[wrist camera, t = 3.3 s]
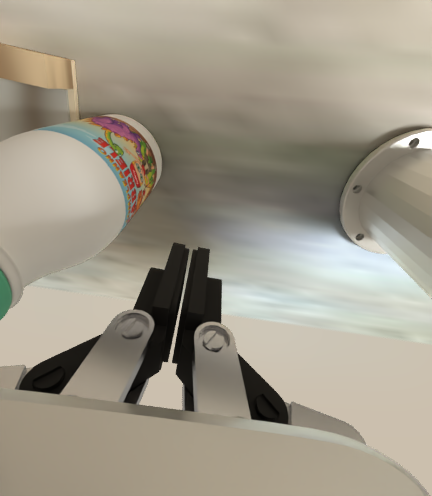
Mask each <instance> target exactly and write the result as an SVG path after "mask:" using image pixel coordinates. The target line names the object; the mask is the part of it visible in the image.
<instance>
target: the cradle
mask: <svg viewBox="0 0 432 496" xmlns="http://www.w3.org/2000/svg"><path fill="white" fill-rule="evenodd" d="M76 120H80V118H79V106H78V93H77V81H76V69H75V60H71V59H66V58H62V57H58V56H53V55H49V54H45V53H41V52H36V51H32V50H28V49H23V48H19V47H15V46H10V45H6V44H2V43H0V142H1V141H3V140H6V139H8V138H10V137H12V136H15V135H18V134H21V133H25V132H28V131H32V130H35V129H39V128H43V127H48V126H52V125H57V124H61V123H66V122H71V121H76Z"/></svg>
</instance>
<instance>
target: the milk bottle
mask: <svg viewBox="0 0 432 496" xmlns="http://www.w3.org/2000/svg"><path fill="white" fill-rule="evenodd" d="M161 172H162V157H161V153H160V149H159V147H158V145H157V142H156V141H155V139H154V137H153V136H152V135H151V133H150V132H149V131H148V130H147V129H146V128H145V127H144V126H143V125H141V124H140V123H139V122H137V121H135V120H134V119H132V118H129V117H127V116H123V115H118V114H109V115H101V116H96V117H91V118H86V119H81V120H76V121H71V122H66V123H61V124H57V125H52V126H48V127H43V128H39V129H35V130H32V131H28V132H25V133H21V134H18V135H15V136H12V137H10V138H8V139H6V140H3V141H1V142H0V320H1V319H2V318H3V317H4V316H5V314H6V313H7V311H8V310H9V309H10V308H12V307H13V306H15V305H16V304H17V303H18V302H19V301H20V299H21V297H22V294H23V290H24V287H26V286H27V285H29V284H30V283H32V282H34V281H36V280H38V279H40V278H42V277H44V276H46V275H48V274H51V273H54V272H57V271H60V270H63V269H67V268H70V267H72V266H75V265H78V264H80V263H82V262H84V261H86V260H88V259H90V258H92V257H93V256H95V255H97V254H98V253H100V252H101V251H102V250H103V249H104V248H106V247H107V246H108V245H109V244H110V243H111V242H112V241H113V240H114V239H115V238H116V237H117V235H118V234H119V233H120V232H121V231H122V230H123V229H124V227H125V226H126V225H127V223H128V222H129V221H130V219H131V218H132V217H133V216H134V214H135V213H136V212H137V210H138V209H139V208H140V206H141V205H142V204H143V202H144V201H145V200H146V198H147V197H148V196H149V194H150V193H151V192H152V190H153V189H154V187H155V186H156V184H157V183H158V181H159V178H160V176H161Z"/></svg>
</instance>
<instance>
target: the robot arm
mask: <svg viewBox="0 0 432 496" xmlns="http://www.w3.org/2000/svg"><path fill="white" fill-rule="evenodd" d="M354 186H355V188H354ZM339 213H340V221H341V224H342V227H343V229H344V231H345V232H346V234H347V235H348V236H349V238H350V239H351V240H352V241H353V242H354V243H355V244H357V245H358V246H360V247H361V248H363V249H365V250H368V251H370V252H374V253H379V254H388V255H389V256H390V257H391V258H392V259H393V260H394V261H395V262H396V263H397V264H398V265H399V266H400V267H401V268H402V269H403V270H404V271H405V272H406V273H407V274H408V275H409V276H410V277H411V278H412V279H413V280H414V281H415V282H416V283H417V284H418V285H419V286H420V287H421V288H422V289H423V290H424V291H425V292H426V293H427V295H428V296H429V297H430V298H431V299H432V128H425V129H420V130H414V131H410V132H408V133H405V134H402V135H399V136H397V137H395V138H393V139H391V140H389V141H387V142H386V143H384V144H382V145H381V146H380V147H378V148H377V149H375V150H374V151H373V152H371V153H370V154H369V155H368V156H367V157H366V158H365V159H364V160H363V161H362V162H361V163H360V164H359V165H358V167H357V168H356V169H355V171H354V172H353V173H352V175H351V176H350V178H349V180H348V182H347V183H346V185H345V187H344V190H343V193H342V196H341V200H340V208H339ZM209 253H210V249H205V248H200V247H198V250H194V249H193V253H192V258H191V263H190V268H189V273H188V278H187V283H186V288H185V294H184V299H183V304H182V309H181V314H180V320H179V326H178V332H177V337H176V343H175V349H174V355H173V360H172V363H176V364H177V369H176V375H177V376H178V377H179V379H180V380H181V381H182V383H183V387H182V398H183V399H182V400H183V401H182V402H183V403H182V406H183V408H182V410H176V409H167V408H160V407H153V406H145V405H139V403H140V401H141V399H142V396H143V393H144V391H145V389H146V387H147V384H148V381H149V378H150V377H152V376H153V375H154V374H156V373H158V372H159V370H161V366H162V362H168V358H169V354H170V349H171V344H172V339H173V335H174V330H175V325H176V320H177V315H178V311H179V306H180V301H181V296H182V290H183V284H184V278H185V272H186V267H187V261H188V255H189V249H188V248H185V245H183V244H178V243H173V246H172V249H171V252H170V255H169V258H168V261H167V264H166V267H165V270H163V269H157V268H150V270H149V273H148V275H147V277H146V280H145V282H144V285H143V287H142V289H141V292H140V294H139V297H138V299H137V302H136V304H135V306H134V309H133V310H127V311H124V312H122V313H120V314H118V315H117V316H116V317H115V318H114V319H113V320H112V321H111V323H110V324H109V326H108V327H107V328H106V330H105V331H104V333H103V334H101V335H99V336H97V337H95V338H92V339H90V340H88V341H86V342H84V343H82V344H79V345H77V346H75V347H73V348H71V349H69V350H67V351H65V352H62V353H60V354H58V355H56V356H54V357H52V358H49V359H47V360H45V361H43V362H41V363H40V364H38V365H36V366H34V367H33V368H26V366H25V365H17V366H3V367H0V496H430V495H429V493H428V492H427V491H426V489H425V488H424V487H423V486H422V485H421V484H420V482H419V481H418V480H417V479H416V478H415V477H414V476H413V475H412V474H411V473H410V472H408V471H407V470H406V469H405V468H403V467H402V466H401V465H400V464H398V463H397V462H395V461H394V460H392V459H391V458H389V457H387V456H386V455H384V454H382V453H381V452H379V451H377V450H376V449H374V448H372V447H370V446H368V445H366V443H365V441H364V439H363V438H362V436H361V435H360V433H359V432H358V431H357V430H356V429H355V428H354V427H353V426H351V425H349V424H348V423H346V422H344V421H341V420H339V419H336V418H333V417H331V416H328V415H326V414H323V413H320V412H318V411H315V410H313V409H310V408H307V407H305V406H302V405H300V404H297V403H295V402H291V404H289V403H286V402H284V401H283V400H282V398H281V397H280V396H279V394H278V393H277V392H276V391H275V390H274V389H273V388H272V387H271V386H270V385H269V384H268V383H267V382H266V381H265V380H264V379H263V378H262V377H261V376H260V375H259V374H258V373H257V372H256V371H255V370H254V369H253V368H252V367H251V366H250V365H249V364H248V363H247V362H246V361H245V360H244V359H243V358H242V357H241V356H240V355H239V354H238V353H237V349H236V345H235V340H234V337H233V334H232V332H231V331H230V330H229V329H228V328H227V327H226V326H224V325H223V324H221V298H222V280H221V279H215V278H209V277H207V275H208V264H209Z"/></svg>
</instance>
